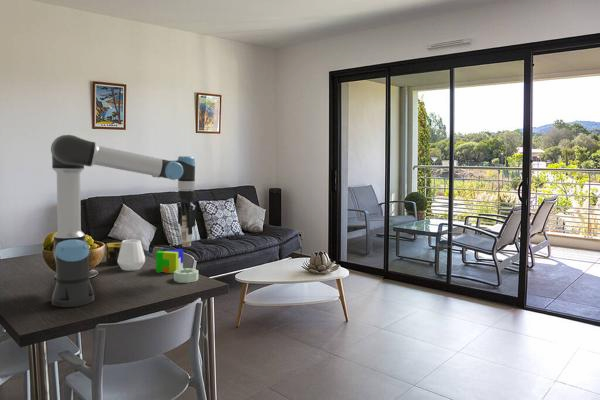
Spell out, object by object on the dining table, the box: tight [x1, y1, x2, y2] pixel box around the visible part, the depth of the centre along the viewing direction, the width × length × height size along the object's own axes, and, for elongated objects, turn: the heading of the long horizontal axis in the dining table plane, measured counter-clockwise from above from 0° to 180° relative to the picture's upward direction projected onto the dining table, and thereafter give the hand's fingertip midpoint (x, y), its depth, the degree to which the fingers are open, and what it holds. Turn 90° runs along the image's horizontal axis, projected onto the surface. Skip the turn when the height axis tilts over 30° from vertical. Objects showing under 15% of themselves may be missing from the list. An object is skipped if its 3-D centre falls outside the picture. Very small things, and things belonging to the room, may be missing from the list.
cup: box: [117, 239, 146, 272], centre depth 240 cm, size 13×13×14 cm
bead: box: [173, 267, 199, 284], centre depth 222 cm, size 10×10×4 cm
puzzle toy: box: [155, 247, 184, 274], centre depth 238 cm, size 10×10×10 cm
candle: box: [105, 242, 122, 267], centre depth 250 cm, size 10×10×10 cm
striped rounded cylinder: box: [181, 216, 192, 248], centre depth 220 cm, size 4×4×14 cm
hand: (186, 240), depth 221 cm, fingers closed on striped rounded cylinder, 4 cm apart
